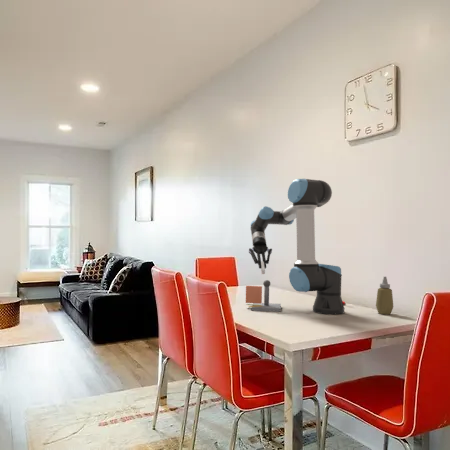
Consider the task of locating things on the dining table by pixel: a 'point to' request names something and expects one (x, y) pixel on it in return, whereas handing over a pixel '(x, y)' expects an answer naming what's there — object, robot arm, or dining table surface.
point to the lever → (258, 293)
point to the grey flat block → (265, 307)
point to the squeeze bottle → (384, 298)
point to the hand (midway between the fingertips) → (263, 272)
